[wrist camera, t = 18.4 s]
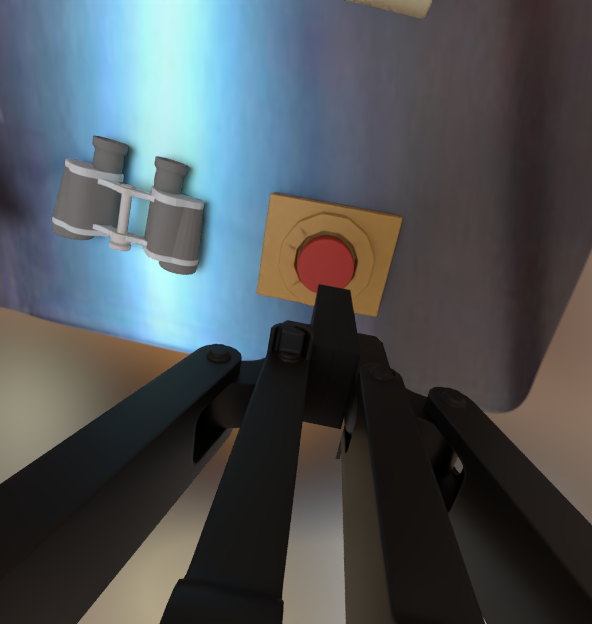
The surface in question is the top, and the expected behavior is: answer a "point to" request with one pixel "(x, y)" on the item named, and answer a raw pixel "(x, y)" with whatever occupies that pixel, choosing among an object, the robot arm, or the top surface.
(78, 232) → the binoculars
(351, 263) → the button
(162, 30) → the top surface
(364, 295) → the button block
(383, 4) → the kicker arm
